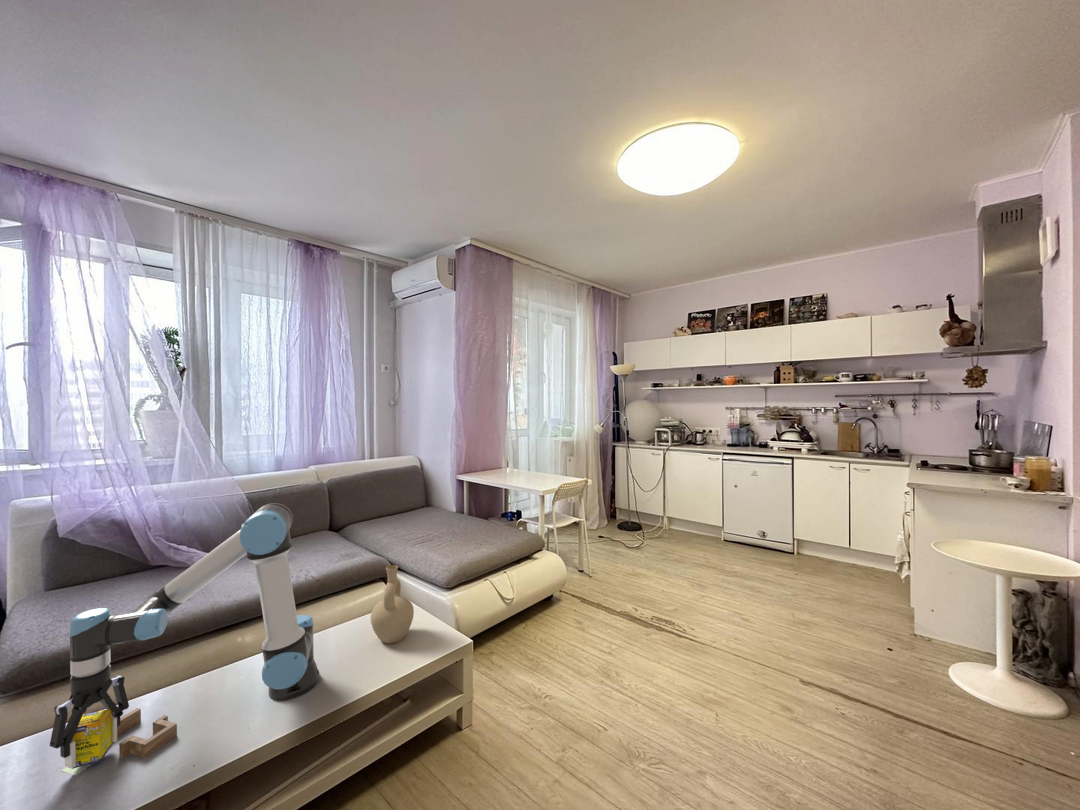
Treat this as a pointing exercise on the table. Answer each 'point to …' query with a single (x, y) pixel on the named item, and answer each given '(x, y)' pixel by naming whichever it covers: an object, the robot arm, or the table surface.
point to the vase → (392, 611)
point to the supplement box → (93, 737)
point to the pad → (76, 769)
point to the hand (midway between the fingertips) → (92, 752)
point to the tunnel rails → (141, 746)
